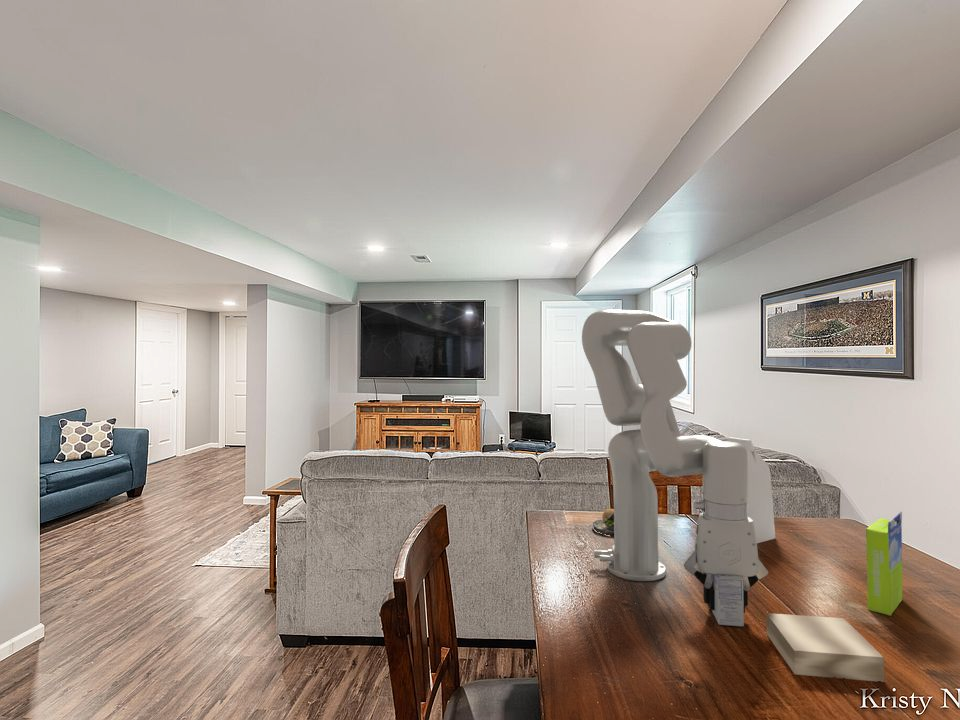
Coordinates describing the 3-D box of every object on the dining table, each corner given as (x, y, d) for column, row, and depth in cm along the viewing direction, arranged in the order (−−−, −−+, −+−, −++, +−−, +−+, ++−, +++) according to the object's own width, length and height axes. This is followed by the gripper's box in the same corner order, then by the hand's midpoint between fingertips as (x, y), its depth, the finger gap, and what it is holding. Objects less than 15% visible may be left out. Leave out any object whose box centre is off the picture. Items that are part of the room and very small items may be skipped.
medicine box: (744, 628, 94) (744, 578, 94) (717, 625, 95) (717, 576, 95) (732, 607, 102) (732, 561, 101) (707, 605, 102) (707, 560, 102)
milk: (707, 532, 146) (705, 437, 146) (734, 526, 151) (733, 434, 151) (747, 545, 135) (745, 443, 135) (775, 538, 140) (773, 439, 141)
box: (879, 593, 107) (877, 507, 107) (905, 599, 104) (903, 511, 104) (865, 610, 100) (864, 517, 100) (892, 617, 97) (891, 522, 97)
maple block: (794, 677, 80) (794, 650, 80) (766, 636, 92) (766, 613, 92) (884, 684, 78) (883, 657, 78) (843, 641, 90) (843, 618, 90)
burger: (612, 541, 141) (612, 512, 141) (583, 529, 151) (583, 502, 151) (645, 533, 147) (645, 506, 147) (615, 522, 157) (615, 496, 157)
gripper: (680, 513, 96) (680, 614, 96) (782, 517, 93) (782, 622, 93) (673, 502, 103) (673, 595, 103) (767, 505, 100) (767, 602, 100)
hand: (725, 607), depth 98 cm, fingers closed on medicine box, 4 cm apart
